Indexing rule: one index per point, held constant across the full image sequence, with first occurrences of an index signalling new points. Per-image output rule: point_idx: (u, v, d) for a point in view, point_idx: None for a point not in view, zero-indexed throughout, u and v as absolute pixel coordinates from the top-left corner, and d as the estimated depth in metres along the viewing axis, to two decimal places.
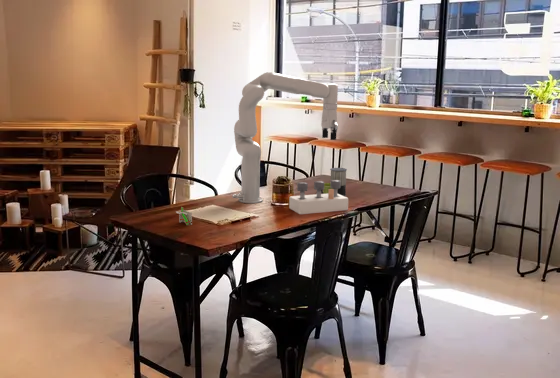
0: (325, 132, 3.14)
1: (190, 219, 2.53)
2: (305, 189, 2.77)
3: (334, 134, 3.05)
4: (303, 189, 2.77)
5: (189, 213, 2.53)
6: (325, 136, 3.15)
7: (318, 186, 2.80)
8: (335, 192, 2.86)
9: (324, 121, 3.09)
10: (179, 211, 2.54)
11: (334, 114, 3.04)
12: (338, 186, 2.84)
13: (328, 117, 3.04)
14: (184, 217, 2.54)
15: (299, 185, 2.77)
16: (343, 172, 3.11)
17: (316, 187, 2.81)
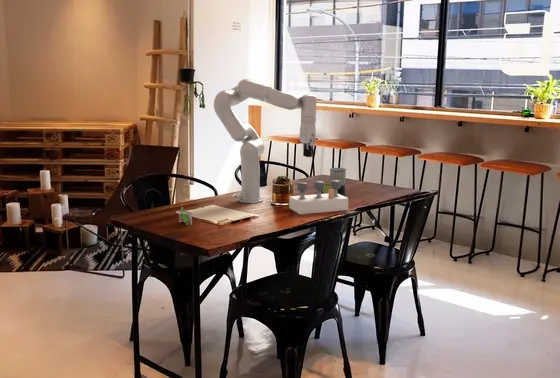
0: None
1: (190, 219, 2.53)
2: (305, 189, 2.77)
3: (310, 151, 2.85)
4: (303, 189, 2.77)
5: (189, 213, 2.53)
6: None
7: (318, 186, 2.80)
8: (335, 192, 2.86)
9: (302, 135, 2.86)
10: (179, 211, 2.54)
11: (313, 128, 2.81)
12: (338, 186, 2.84)
13: (306, 130, 2.81)
14: (184, 217, 2.54)
15: (299, 185, 2.77)
16: (342, 172, 3.11)
17: (316, 187, 2.81)
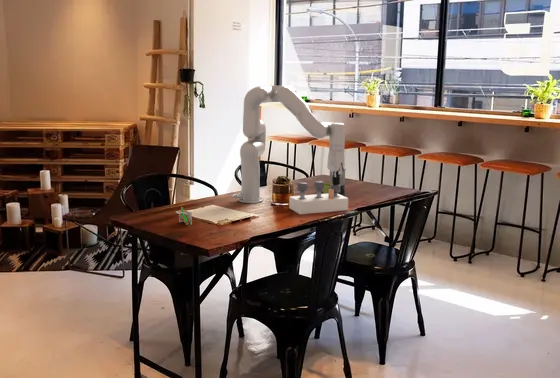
0: None
1: (190, 219, 2.54)
2: (305, 189, 2.77)
3: (337, 179, 2.84)
4: (303, 189, 2.77)
5: (189, 213, 2.54)
6: None
7: (318, 186, 2.80)
8: (335, 196, 2.86)
9: (330, 163, 2.83)
10: (179, 211, 2.54)
11: (342, 157, 2.79)
12: (338, 190, 2.84)
13: (334, 159, 2.79)
14: (184, 217, 2.54)
15: (299, 185, 2.77)
16: (342, 172, 3.11)
17: (316, 187, 2.81)
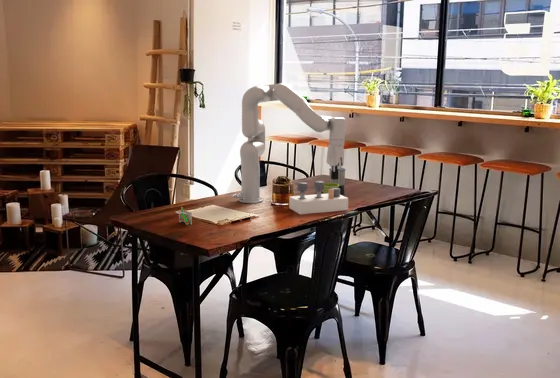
0: None
1: (190, 219, 2.54)
2: (305, 189, 2.77)
3: (336, 173, 2.83)
4: (303, 189, 2.77)
5: (189, 213, 2.54)
6: None
7: (318, 186, 2.80)
8: None
9: (330, 158, 2.83)
10: (179, 211, 2.54)
11: (341, 151, 2.78)
12: (338, 194, 2.85)
13: (334, 154, 2.79)
14: (184, 217, 2.54)
15: (299, 185, 2.77)
16: (342, 172, 3.11)
17: (316, 187, 2.81)
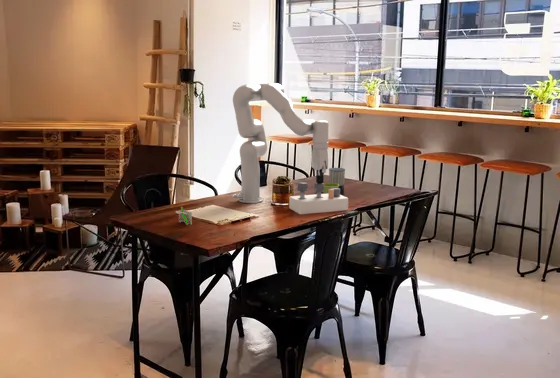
0: None
1: (190, 219, 2.54)
2: (305, 189, 2.77)
3: (321, 177, 2.80)
4: (303, 189, 2.77)
5: (189, 213, 2.54)
6: None
7: (318, 187, 2.80)
8: None
9: (314, 161, 2.80)
10: (179, 211, 2.54)
11: (325, 155, 2.75)
12: (338, 194, 2.85)
13: (318, 157, 2.75)
14: (184, 217, 2.54)
15: (299, 185, 2.77)
16: (341, 172, 3.11)
17: (316, 188, 2.81)
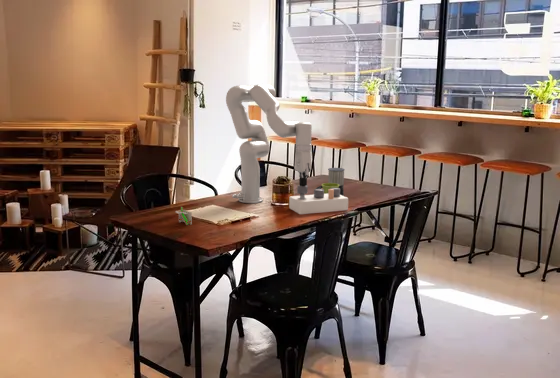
0: None
1: (190, 219, 2.54)
2: (305, 192, 2.78)
3: (304, 180, 2.77)
4: (303, 192, 2.77)
5: (189, 213, 2.54)
6: None
7: (317, 194, 2.81)
8: None
9: (297, 164, 2.76)
10: (179, 211, 2.55)
11: (308, 157, 2.72)
12: (338, 194, 2.85)
13: (301, 159, 2.72)
14: (184, 217, 2.54)
15: (299, 188, 2.77)
16: (341, 172, 3.11)
17: (316, 195, 2.81)
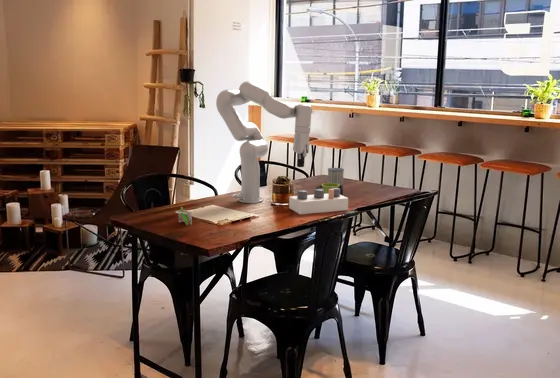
0: None
1: (190, 219, 2.54)
2: (305, 197, 2.78)
3: (302, 161, 2.81)
4: (303, 197, 2.78)
5: (189, 213, 2.54)
6: None
7: (317, 194, 2.81)
8: None
9: (295, 145, 2.80)
10: (179, 211, 2.55)
11: (306, 139, 2.75)
12: (338, 194, 2.85)
13: (299, 141, 2.76)
14: (184, 217, 2.54)
15: (299, 193, 2.78)
16: (340, 172, 3.11)
17: (316, 195, 2.81)
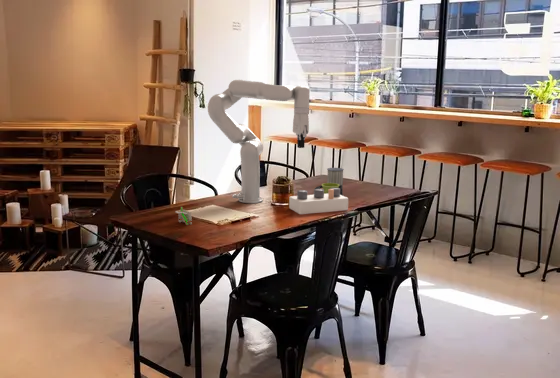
0: None
1: (190, 219, 2.54)
2: (305, 197, 2.78)
3: (302, 142, 2.88)
4: (303, 197, 2.78)
5: (189, 213, 2.54)
6: None
7: (317, 194, 2.81)
8: None
9: (295, 126, 2.88)
10: (179, 211, 2.55)
11: (306, 119, 2.83)
12: (338, 194, 2.85)
13: (299, 122, 2.83)
14: (184, 217, 2.54)
15: (299, 193, 2.78)
16: (340, 172, 3.11)
17: (316, 195, 2.81)
